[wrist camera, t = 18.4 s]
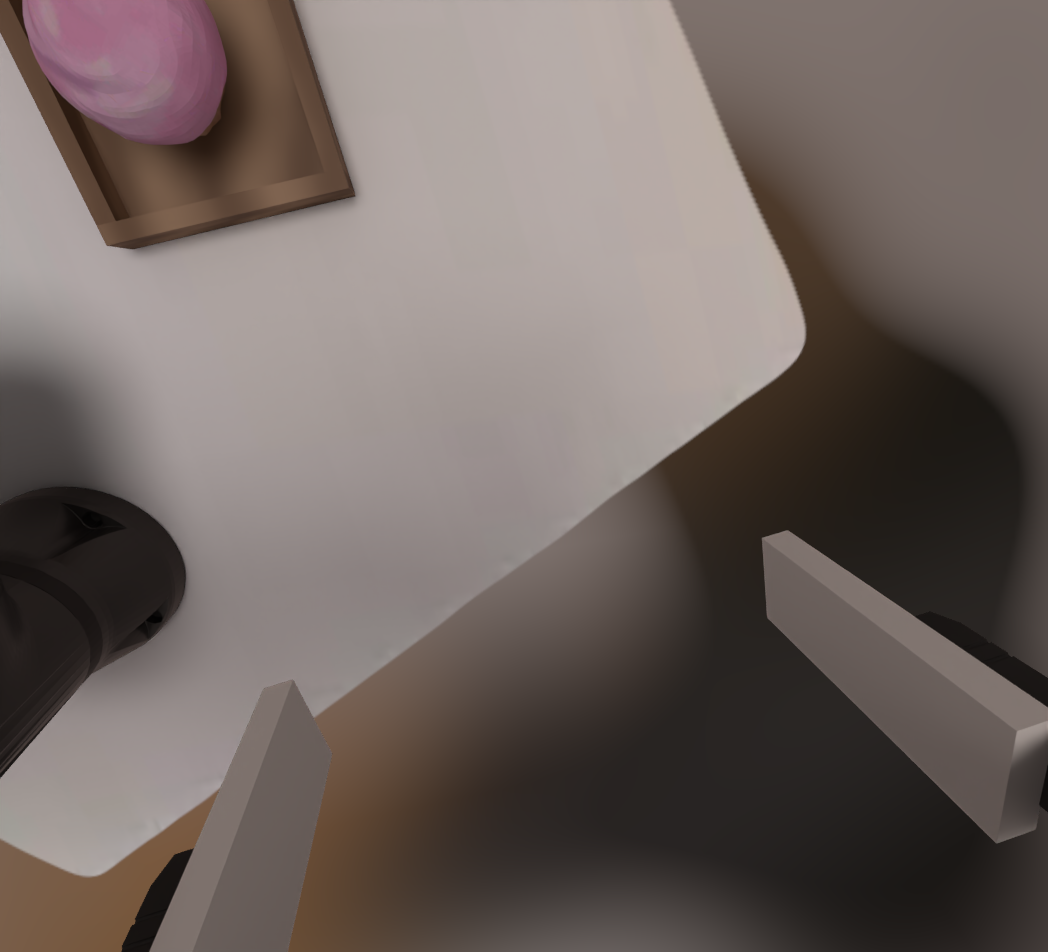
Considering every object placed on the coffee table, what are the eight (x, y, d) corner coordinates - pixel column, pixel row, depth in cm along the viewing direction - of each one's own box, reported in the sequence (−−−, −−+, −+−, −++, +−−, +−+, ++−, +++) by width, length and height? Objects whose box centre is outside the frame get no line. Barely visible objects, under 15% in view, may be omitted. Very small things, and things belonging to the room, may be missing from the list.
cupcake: (118, -28, 30) (-23, -170, 21) (272, 44, 32) (206, -55, 23) (101, 134, 32) (-33, 72, 23) (246, 191, 35) (177, 154, 25)
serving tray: (132, 249, 36) (106, 245, 33) (-8, -41, 30) (-54, -76, 27) (355, 195, 37) (348, 188, 34) (263, -95, 31) (245, -133, 28)
